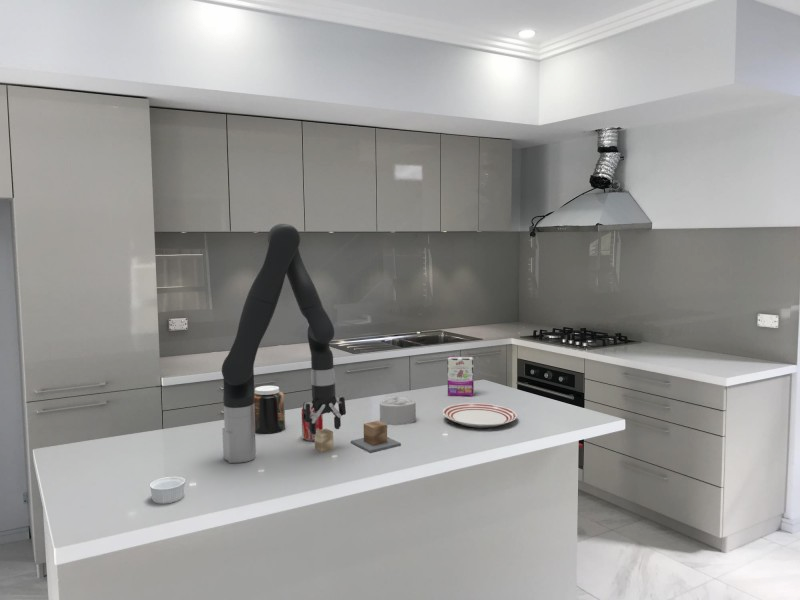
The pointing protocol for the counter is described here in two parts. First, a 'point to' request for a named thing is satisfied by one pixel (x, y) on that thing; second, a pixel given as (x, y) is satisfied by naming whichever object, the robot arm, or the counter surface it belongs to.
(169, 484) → the ramekin
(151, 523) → the counter surface
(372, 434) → the walnut block
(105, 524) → the counter surface
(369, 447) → the build mat
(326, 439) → the maple block
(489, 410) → the dinner plate
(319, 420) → the soda can
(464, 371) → the candy bar box
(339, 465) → the counter surface
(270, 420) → the jar
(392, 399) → the lumpy-topped squat cylinder
